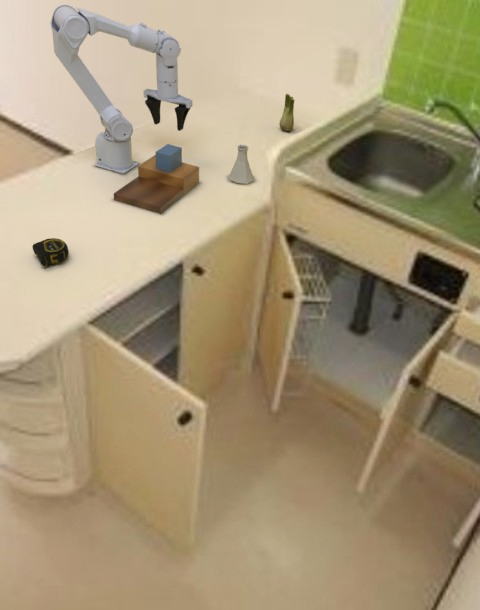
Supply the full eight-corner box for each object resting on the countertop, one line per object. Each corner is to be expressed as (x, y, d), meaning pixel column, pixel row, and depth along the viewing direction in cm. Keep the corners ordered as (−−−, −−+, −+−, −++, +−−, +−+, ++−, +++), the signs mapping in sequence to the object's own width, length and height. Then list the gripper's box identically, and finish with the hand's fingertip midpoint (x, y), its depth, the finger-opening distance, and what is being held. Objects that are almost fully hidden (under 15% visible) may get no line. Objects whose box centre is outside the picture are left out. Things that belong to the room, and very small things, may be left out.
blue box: (156, 168, 176) (155, 151, 173) (167, 160, 181) (167, 143, 178) (170, 172, 175) (170, 155, 172) (181, 164, 180) (181, 147, 177)
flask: (249, 186, 185) (251, 154, 179) (225, 181, 186) (226, 149, 180) (256, 176, 191) (258, 144, 185) (233, 171, 192) (234, 139, 186)
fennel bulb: (292, 133, 220) (296, 99, 213) (278, 131, 220) (281, 97, 213) (293, 127, 225) (297, 93, 218) (279, 125, 225) (282, 91, 217)
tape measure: (33, 254, 145) (30, 240, 143) (63, 248, 149) (61, 234, 147) (41, 270, 141) (39, 256, 139) (73, 263, 145) (71, 249, 142)
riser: (113, 200, 169) (112, 182, 167) (155, 170, 186) (155, 154, 183) (161, 213, 167) (160, 196, 164) (199, 182, 183) (199, 166, 180)
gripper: (197, 81, 180) (197, 127, 188) (152, 70, 183) (154, 116, 191) (185, 88, 175) (185, 135, 183) (138, 76, 178) (141, 124, 186)
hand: (168, 126), depth 187 cm, fingers open, 7 cm apart
